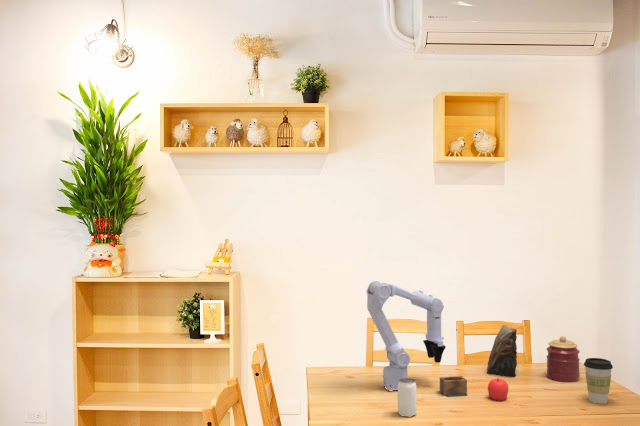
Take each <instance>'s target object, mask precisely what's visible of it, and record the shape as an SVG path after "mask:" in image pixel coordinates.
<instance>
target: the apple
mask: <svg viewBox="0 0 640 426" xmlns="http://www.w3.org/2000/svg"><path fill="white" fill-rule="evenodd" d="M499 378H500V377H497V378H493V379H491V380H490V381H489V383H488V384H487V393H488V397H490V399H492V400H494V401H499V402H500V401H505V400H506V399H507V398H508V394H509V390H510V389H509V388H510V387H509V384H508V382H507V381H506V380H504V379H502V378H501V379H499Z"/></svg>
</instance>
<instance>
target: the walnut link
mask: <svg viewBox="0 0 640 426" xmlns="http://www.w3.org/2000/svg"><path fill="white" fill-rule="evenodd" d="M439 391H440V392H441V393H442V392H443V393H444V394H443V395H445V394H459V393H467V394H468V380H467V379H466V378H465V377H463V376H461V375H458V376H441V377H439Z"/></svg>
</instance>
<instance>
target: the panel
mask: <svg viewBox="0 0 640 426" xmlns="http://www.w3.org/2000/svg"><path fill="white" fill-rule="evenodd" d="M441 393H443V392H441ZM443 395H445V396H446V397H447V398H451V397H452V398H454V397H466V396H468V392H467V393H459V394H444V393H443Z"/></svg>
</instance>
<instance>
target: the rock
mask: <svg viewBox="0 0 640 426" xmlns="http://www.w3.org/2000/svg"><path fill="white" fill-rule="evenodd" d="M517 331H518V330H517V329H516V328H513V327H510V326H507V325H506V324H502V325H501V328H500V329H499V331H498V333H497V335H496V336H495V339H494V342H493V345H492V347H491V348H492V349H491V351H490V354H489V357H488V362H487V367H486V375H493V376H500V377H506V378H515V377H516V376H517V374H516V370H517V367H518V366H517V365H518V362H517V358H518V355H517V353H518V352H517V349H518V348H517V339H518V337H517Z"/></svg>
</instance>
